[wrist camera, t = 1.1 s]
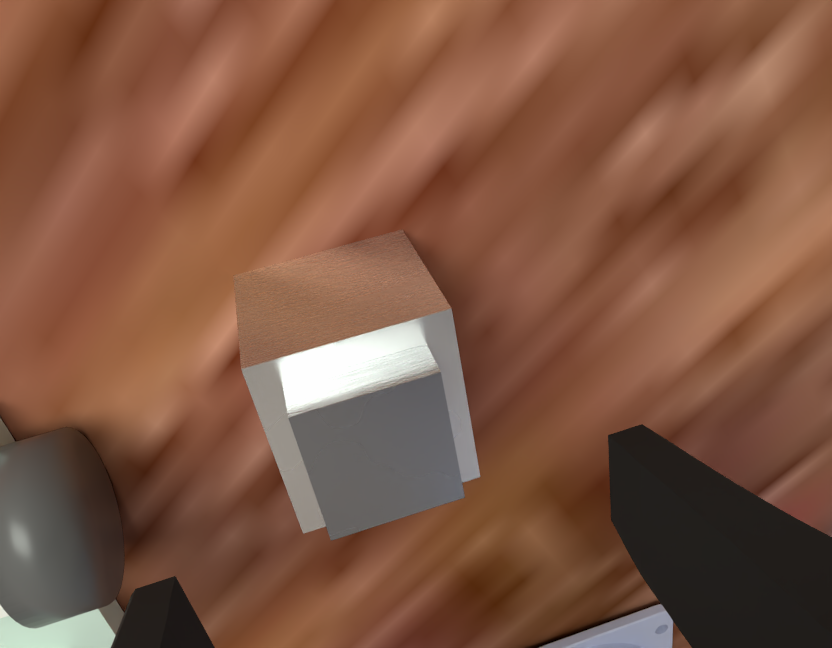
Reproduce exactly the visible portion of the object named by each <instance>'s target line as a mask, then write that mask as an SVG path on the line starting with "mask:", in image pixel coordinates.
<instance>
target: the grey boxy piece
mask: <svg viewBox="0 0 832 648" xmlns="http://www.w3.org/2000/svg"><path fill="white" fill-rule="evenodd" d="M234 288H235V300H236V312H237V324H238V336H239V348H240V359H241V370H242V372H243V375H244V378H245V380H246V383H247V386H248V388H249V391H250V393H251V396H252V399H253V401H254V404H255V407H256V409H257V412H258V415H259V417H260V420H261V423H262V425H263V428H264V431H265V433H266V436H267V439H268V441H269V444H270V447H271V449H272V452H273V454H274V457H275V460H276V462H277V465H278V468H279V470H280V473H281V476H282V478H283V481H284V484H285V486H286V489H287V492H288V494H289V497H290V500H291V502H292V505H293V508H294V510H295V513H296V516H297V518H298V521H299V523H300V526H301V529H302V531H303V534H304V533H307V532H310V531H313V530H316V529H319V528H322V527H325V526H326V528H327V530H328V533H329V536H330V539H331V541H332V540H335V539H338V538H341V537H344V536H347V535H350V534H353V533H356V532H359V531H363V530H366V529H369V528H372V527H375V526H378V525H381V524H384V523H387V522H390V521H393V520H397V519H400V518H403V517H406V516H409V515H412V514H415V513H418V512H421V511H424V510H428V509H431V508H434V507H437V506H440V505H443V504H446V503H449V502H452V501H455V500H458V499H462V498H465V496H464V490H463V485H462V483H463V482H466V481H469V480H472V479H475V478H478V477H480V472H479V466H478V460H477V454H476V449H475V443H474V437H473V431H472V425H471V419H470V413H469V408H468V402H467V396H466V390H465V384H464V378H463V373H462V367H461V361H460V355H459V349H458V343H457V337H456V332H455V326H454V320H453V314H452V308H451V307H450V305H449V304H448V302H447V300H446V299H445V297H444V296H443V294H442V292H441V291H440V289H439V288H438V286H437V284H436V283H435V281H434V280H433V278H432V276H431V275H430V273H429V271H428V270H427V268H426V267H425V265H424V263H423V262H422V260H421V259H420V257H419V255H418V254H417V252H416V251H415V249H414V247H413V246H412V244H411V243H410V241H409V239H408V238H407V236H406V235H405V233H404V231H403V230H399V231H395V232H391V233H388V234H384V235H380V236H377V237H373V238H369V239H366V240H362V241H358V242H355V243H351V244H347V245H344V246H340V247H336V248H333V249H329V250H325V251H322V252H318V253H314V254H311V255H307V256H303V257H300V258H296V259H292V260H289V261H285V262H281V263H278V264H274V265H270V266H267V267H263V268H259V269H256V270H252V271H248V272H245V273H241V274H237V275H234Z"/></svg>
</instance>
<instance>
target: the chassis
mask: <svg viewBox="0 0 832 648" xmlns="http://www.w3.org/2000/svg"><path fill="white" fill-rule="evenodd" d="M123 573H124V539H123V530H122V523H121V518H120V513H119V509H118V504H117V501H116V497H115V494H114V490H113V487H112V484H111V482H110V479H109V477H108V474H107V472H106V469H105V467H104V465H103V463H102V461H101V459H100V457H99V455H98V454H97V452H96V450H95V449H94V447H93V446H92V445H91V443H90V442H89V441H88V440H87V439H86V437H85V436H84V435H82V434H81V433H80V432H79V431H77V430H76V429H73V428H69V427H65V428H61V429H58V430H54V431H51V432H47V433H44V434H40V435H37V436H34V437H30V438H27V439H23V440H20V441H16V442H15V440H14V438H13V437H12V435H11V434H10V432H9V430H8V429H7V427H6V426H5V424H4V423H3V421H2V419H1V418H0V648H111V646H112V643H113V641H114V638H115V636H116V633H117V631H118V628H119V626H120V623H121V620H122V618H123V615H124V612H123V610H122V609H121V607H120V606H119V604H118V603H117V601H116V597H117V595H118V593H119V590H120V588H121V584H122V580H123Z"/></svg>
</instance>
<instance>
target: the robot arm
mask: <svg viewBox="0 0 832 648" xmlns="http://www.w3.org/2000/svg"><path fill="white" fill-rule="evenodd" d="M608 443H609V471H610V500H611V520H612V522H613V524H614V526H615V528H616V530H617V532H618V534H619V536H620V537H621V539H622V541H623V543H624V545H625V547H626V549H627V551H628V552H629V554H630V556H631V558H632V560H633V561H634V563H635V565H636V567H637V569H638V570H639V572H640V574H641V575H642V577H643V578H644V580H645V581H646V583H647V584H648V586H649V587H650V589H651V590H652V591H653V593H654V594H655V596H656V597H657V599H658V600H659V601H660V603H661V604H658V605H655V606H652V607H649V608H646V609H644V610H641V611H638V612H635V613H633V614H630V615H627V616H624V617H621V618H619V619H616V620H613V621H610V622H608V623H605V624H602V625H599V626H596V627H594V628H591V629H588V630H585V631H583V632H580V633H577V634H574V635H571V636H569V637H566V638H563V639H560V640H558V641H555V642H552V643H549V644H546V645H544V646H541V647H538V648H672V640H673V621H674V623H675V624H676V626H677V627H678V628H679V630H680V631H681V633H682V634H683V635H684V637H685V638H686V640H687V641H688V642H689V644H690V645H691V647H692V648H832V537H830V536H828V535H826V534H824V533H822V532H820V531H819V530H817V529H815V528H813V527H811V526H809V525H807V524H805V523H804V522H802V521H800V520H798V519H796V518H794V517H793V516H791V515H789V514H787V513H785V512H784V511H782V510H780V509H778V508H777V507H775V506H773V505H771V504H770V503H768V502H766V501H765V500H763V499H761V498H759V497H758V496H756V495H754V494H753V493H751V492H749V491H748V490H746V489H744V488H743V487H741V486H739V485H737V484H736V483H734V482H732V481H731V480H729V479H728V478H726V477H724V476H723V475H721V474H719V473H718V472H716V471H715V470H713V469H711V468H710V467H708V466H707V465H705V464H704V463H702V462H700V461H699V460H697V459H696V458H694V457H693V456H691V455H689V454H688V453H686V452H685V451H683V450H682V449H680V448H678V447H677V446H675V445H674V444H672V443H671V442H669V441H668V440H666V439H665V438H663V437H661V436H660V435H658V434H657V433H655V432H654V431H652V430H650V429H649V428H647V427H645V426H644V425H638V426H635V427H632V428H629V429H626V430H623V431H620V432H617V433H614V434H611V435H608ZM111 648H215V647H214V646H213V644H212V642H211V640H210V638H209V637H208V635H207V633H206V631H205V629H204V627H203V626H202V624H201V622H200V620H199V618H198V617H197V615H196V613H195V611H194V609H193V607H192V606H191V604H190V602H189V600H188V598H187V597H186V595H185V593H184V591H183V589H182V587H181V586H180V584H179V582H178V580H177V578H176V577H175V576H174V577H171V578H168V579H165V580H162V581H159V582H156V583H153V584H150V585H147V586H144V587H140V588H137V589H135V591H134V592H133V594H132V595H131V597H130V600H129V603H128V605H127V608H126V610H125V613H124V615H123V618H122V620H121V623H120V626H119V628H118V631H117V633H116V636H115V638H114V641H113V643H112V646H111Z"/></svg>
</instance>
